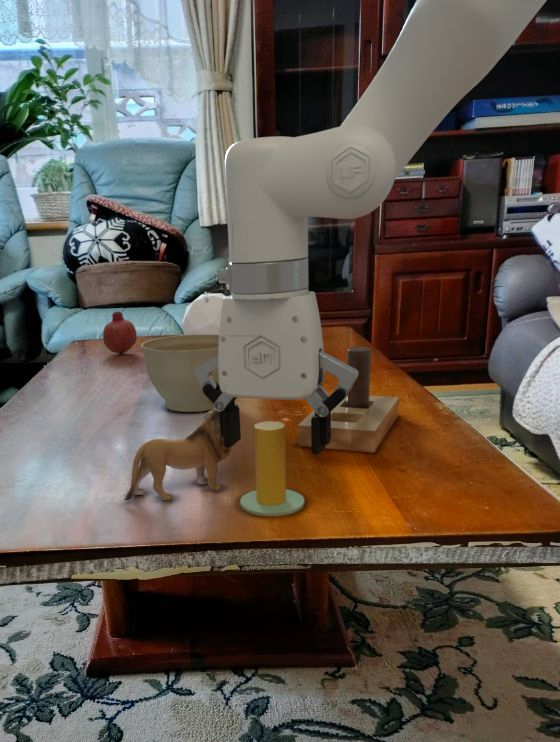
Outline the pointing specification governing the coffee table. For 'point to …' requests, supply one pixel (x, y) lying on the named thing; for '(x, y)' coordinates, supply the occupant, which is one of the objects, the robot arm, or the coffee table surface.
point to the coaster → (288, 507)
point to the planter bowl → (180, 369)
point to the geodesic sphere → (203, 315)
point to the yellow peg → (270, 463)
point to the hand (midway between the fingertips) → (274, 447)
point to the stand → (356, 425)
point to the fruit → (119, 334)
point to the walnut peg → (359, 377)
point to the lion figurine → (181, 457)
